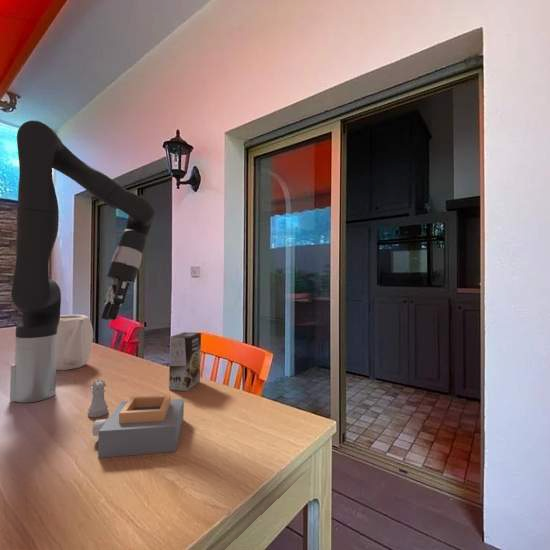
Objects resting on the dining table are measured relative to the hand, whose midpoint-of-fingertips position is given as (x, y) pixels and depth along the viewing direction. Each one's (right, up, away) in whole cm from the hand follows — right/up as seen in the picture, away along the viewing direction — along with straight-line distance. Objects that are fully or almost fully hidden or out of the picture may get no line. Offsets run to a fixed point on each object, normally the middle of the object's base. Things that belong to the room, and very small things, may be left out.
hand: (107, 319), depth 87 cm
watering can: (-29, -22, +28) cm, 46 cm away
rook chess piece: (+3, -22, -10) cm, 25 cm away
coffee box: (+19, -23, +11) cm, 31 cm away
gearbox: (+18, -22, -21) cm, 35 cm away
